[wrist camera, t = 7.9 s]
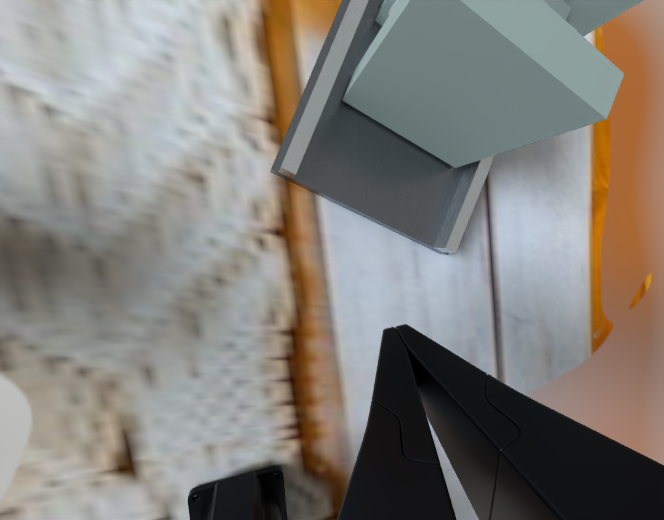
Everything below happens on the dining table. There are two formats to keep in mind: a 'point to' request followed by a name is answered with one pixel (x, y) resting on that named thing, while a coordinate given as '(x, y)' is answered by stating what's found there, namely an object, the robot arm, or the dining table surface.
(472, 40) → the bar
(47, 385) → the dining table surface
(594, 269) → the dining table surface
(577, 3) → the fixed jaw
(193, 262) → the dining table surface
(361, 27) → the vise base
